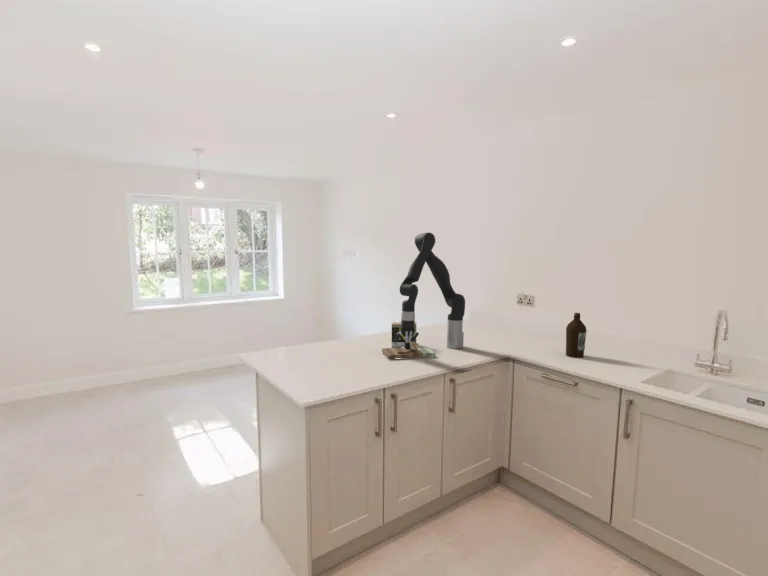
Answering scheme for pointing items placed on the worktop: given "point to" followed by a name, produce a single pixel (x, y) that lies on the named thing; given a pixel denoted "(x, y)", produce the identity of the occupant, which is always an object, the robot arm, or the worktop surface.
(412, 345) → the block
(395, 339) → the tea box
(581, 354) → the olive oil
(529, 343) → the worktop surface
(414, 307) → the robot arm
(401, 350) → the board
